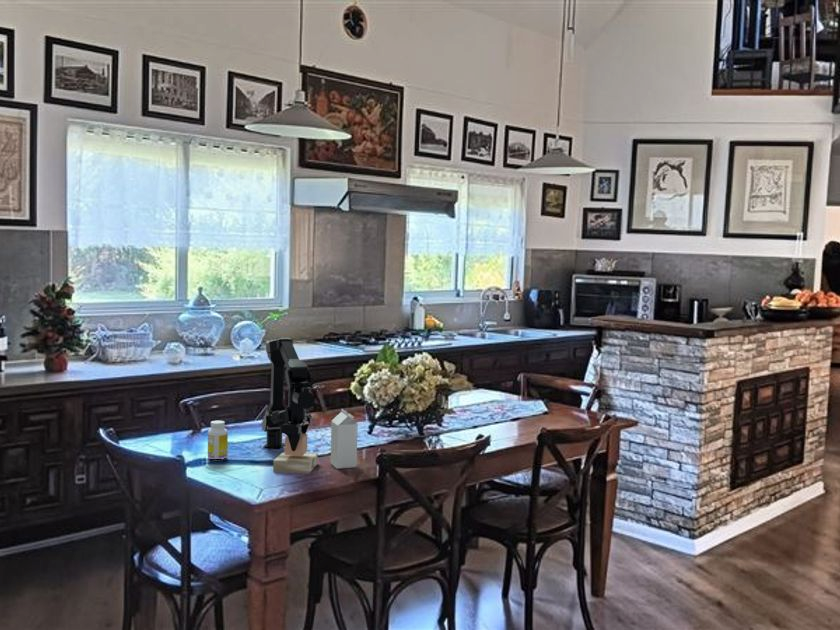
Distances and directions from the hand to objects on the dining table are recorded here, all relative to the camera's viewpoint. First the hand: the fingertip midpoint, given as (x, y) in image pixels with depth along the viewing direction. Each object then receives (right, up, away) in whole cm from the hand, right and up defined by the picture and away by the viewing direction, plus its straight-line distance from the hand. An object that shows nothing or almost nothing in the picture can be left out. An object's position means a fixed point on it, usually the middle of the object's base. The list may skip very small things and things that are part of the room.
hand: (296, 448), depth 273 cm
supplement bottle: (-28, -5, +8) cm, 30 cm away
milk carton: (+15, -7, +5) cm, 17 cm away
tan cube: (0, -2, 0) cm, 2 cm away
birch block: (0, -7, +1) cm, 7 cm away
